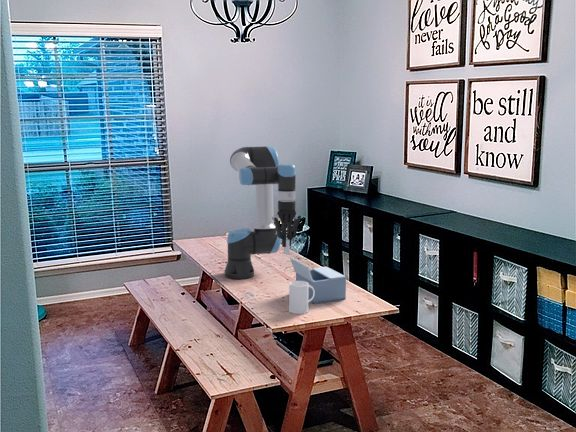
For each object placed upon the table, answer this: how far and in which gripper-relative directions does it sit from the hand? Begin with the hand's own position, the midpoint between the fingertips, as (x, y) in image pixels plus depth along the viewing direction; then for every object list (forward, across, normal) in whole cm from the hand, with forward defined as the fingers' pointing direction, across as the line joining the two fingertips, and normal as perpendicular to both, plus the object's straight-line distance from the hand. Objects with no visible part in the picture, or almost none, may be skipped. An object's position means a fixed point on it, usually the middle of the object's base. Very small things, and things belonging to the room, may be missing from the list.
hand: (286, 253), depth 263 cm
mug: (+22, +1, -14) cm, 26 cm away
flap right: (+11, +21, 0) cm, 24 cm away
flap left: (+8, +8, 0) cm, 11 cm away
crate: (+21, +17, 0) cm, 27 cm away
